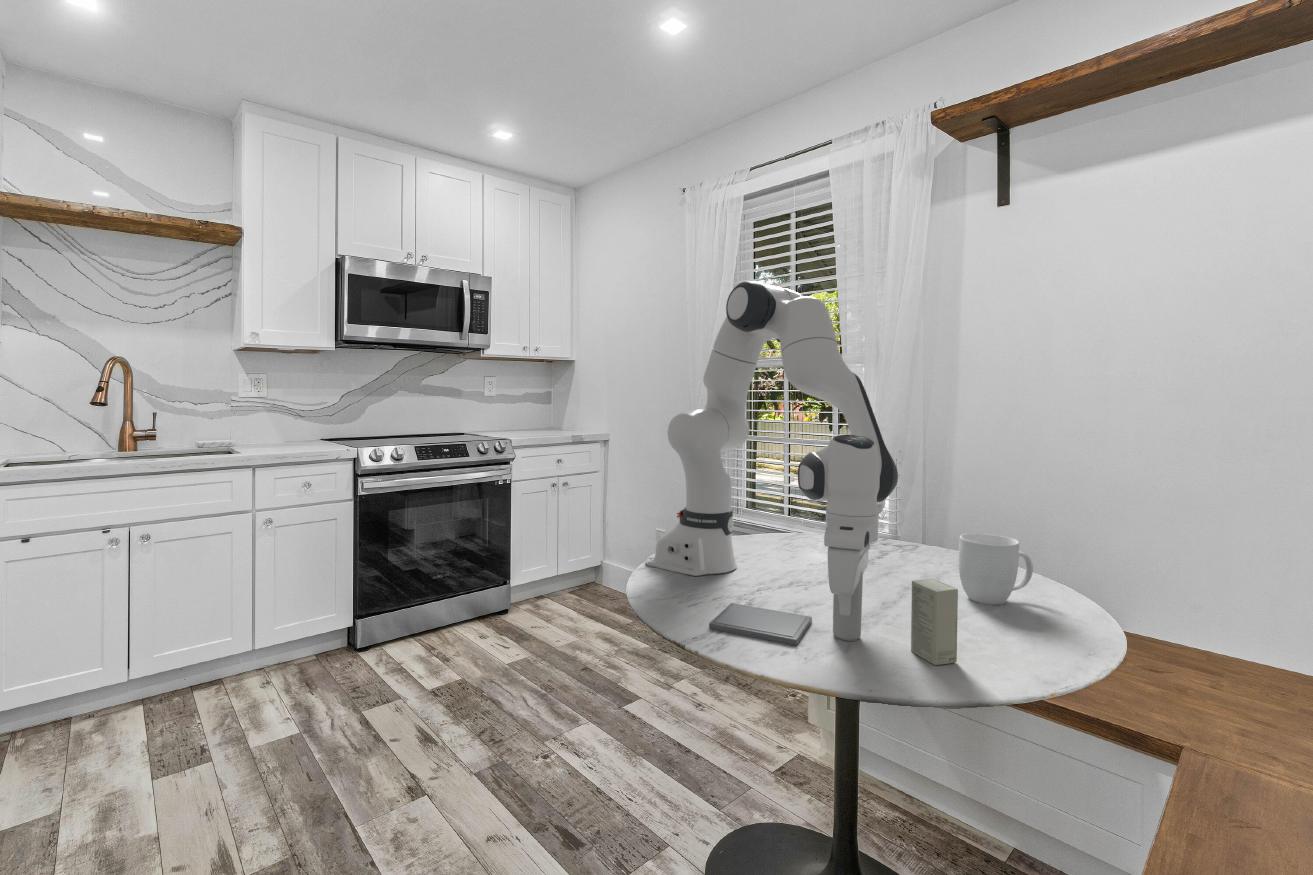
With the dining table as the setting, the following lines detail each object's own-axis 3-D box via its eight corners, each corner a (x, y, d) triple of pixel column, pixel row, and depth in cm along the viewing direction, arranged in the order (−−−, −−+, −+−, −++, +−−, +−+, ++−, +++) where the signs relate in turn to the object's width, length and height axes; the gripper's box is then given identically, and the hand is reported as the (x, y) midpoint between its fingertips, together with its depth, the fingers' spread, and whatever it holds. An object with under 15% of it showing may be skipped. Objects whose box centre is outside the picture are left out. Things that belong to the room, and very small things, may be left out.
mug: (1013, 591, 134) (1016, 532, 133) (1047, 609, 123) (1050, 545, 122) (946, 591, 133) (949, 532, 132) (974, 609, 123) (977, 545, 122)
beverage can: (846, 643, 105) (848, 575, 104) (826, 633, 109) (828, 568, 109) (866, 638, 107) (869, 572, 106) (846, 629, 112) (848, 565, 111)
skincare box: (957, 663, 98) (960, 589, 97) (933, 666, 97) (937, 591, 96) (930, 647, 104) (933, 577, 103) (908, 650, 103) (910, 579, 102)
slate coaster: (709, 628, 111) (709, 622, 111) (731, 607, 122) (731, 602, 122) (796, 645, 104) (796, 639, 104) (811, 621, 115) (811, 616, 115)
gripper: (842, 515, 118) (841, 586, 119) (821, 538, 99) (820, 621, 100) (877, 518, 115) (875, 590, 116) (862, 542, 97) (860, 627, 98)
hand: (849, 605), depth 108 cm, fingers open, 8 cm apart
